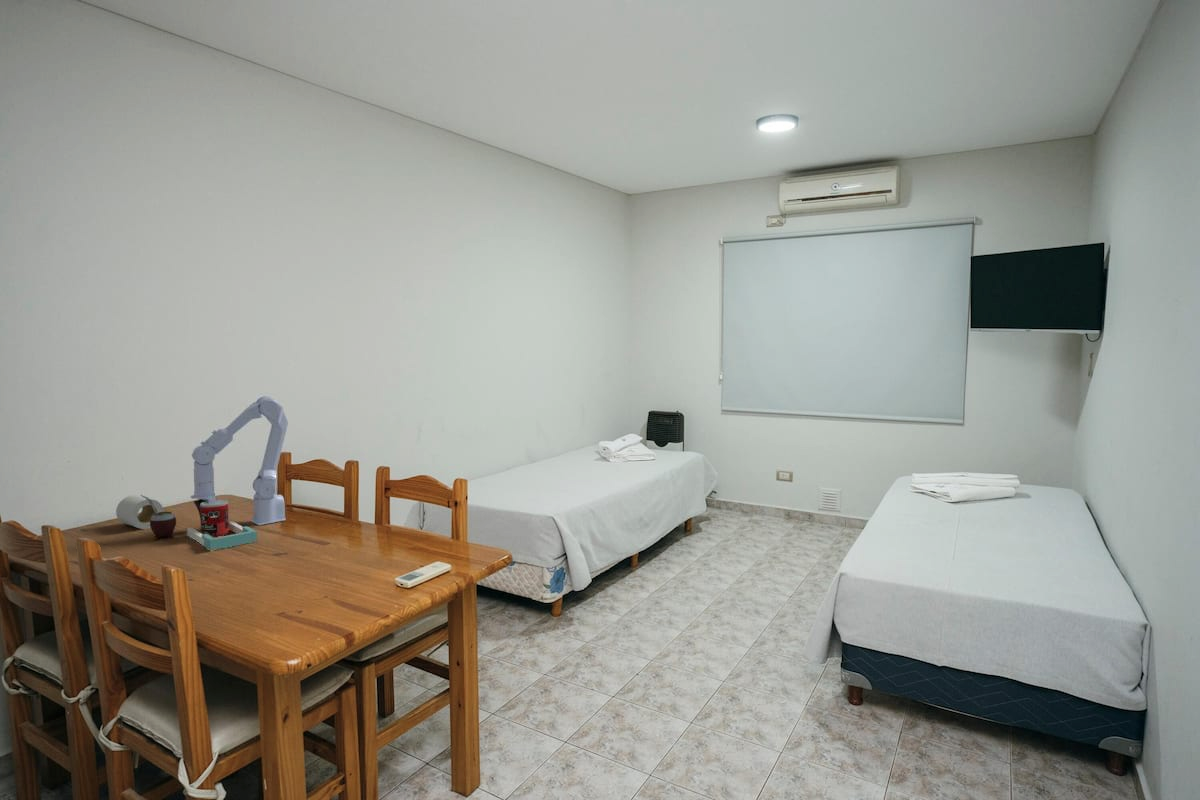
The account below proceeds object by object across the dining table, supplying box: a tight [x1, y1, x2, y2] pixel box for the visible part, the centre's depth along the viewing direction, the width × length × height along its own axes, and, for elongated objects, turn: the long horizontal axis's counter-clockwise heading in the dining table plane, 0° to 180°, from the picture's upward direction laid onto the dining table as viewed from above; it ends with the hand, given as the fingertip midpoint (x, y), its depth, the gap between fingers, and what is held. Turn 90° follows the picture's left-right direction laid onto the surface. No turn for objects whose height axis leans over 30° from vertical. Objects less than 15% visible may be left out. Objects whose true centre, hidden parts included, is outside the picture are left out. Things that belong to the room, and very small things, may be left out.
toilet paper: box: [115, 494, 164, 530], centre depth 227 cm, size 10×10×10 cm
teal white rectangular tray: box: [186, 520, 258, 550], centre depth 215 cm, size 14×22×4 cm, turn 48°
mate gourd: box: [140, 494, 177, 542], centre depth 214 cm, size 8×8×15 cm
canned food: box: [199, 499, 230, 537], centre depth 219 cm, size 8×8×11 cm
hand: (205, 521), depth 225 cm, fingers closed
